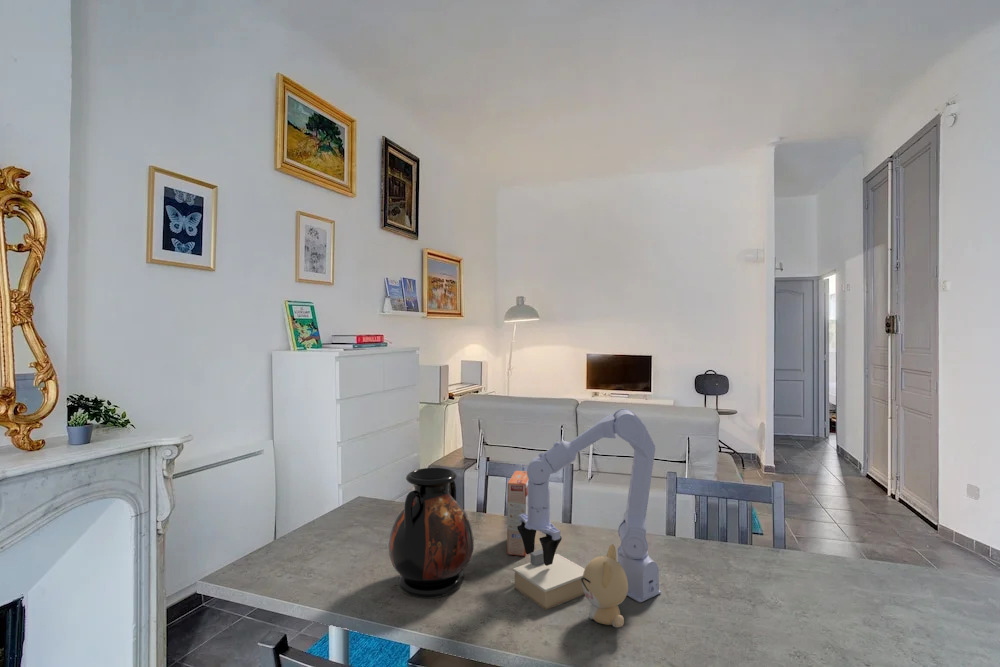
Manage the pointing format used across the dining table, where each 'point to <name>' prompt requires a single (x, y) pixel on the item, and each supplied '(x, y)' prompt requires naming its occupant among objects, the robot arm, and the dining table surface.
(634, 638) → the dining table surface
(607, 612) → the kitten
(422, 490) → the amphora vase
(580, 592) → the carton
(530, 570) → the carton lid
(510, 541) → the cracker box
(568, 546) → the dining table surface
